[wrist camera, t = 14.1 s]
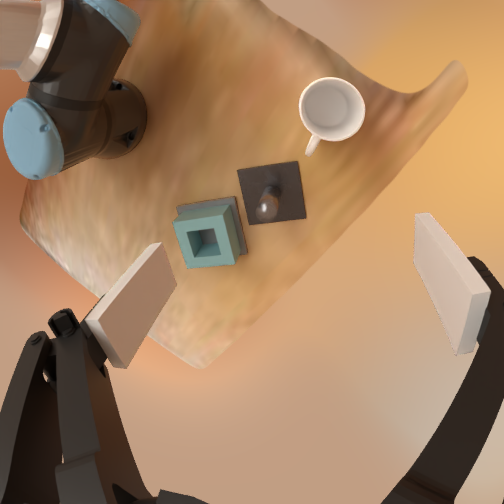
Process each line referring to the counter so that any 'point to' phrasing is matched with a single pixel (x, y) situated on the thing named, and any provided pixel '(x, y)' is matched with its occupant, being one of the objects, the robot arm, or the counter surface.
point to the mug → (330, 111)
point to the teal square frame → (191, 240)
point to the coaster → (209, 234)
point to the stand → (272, 193)
